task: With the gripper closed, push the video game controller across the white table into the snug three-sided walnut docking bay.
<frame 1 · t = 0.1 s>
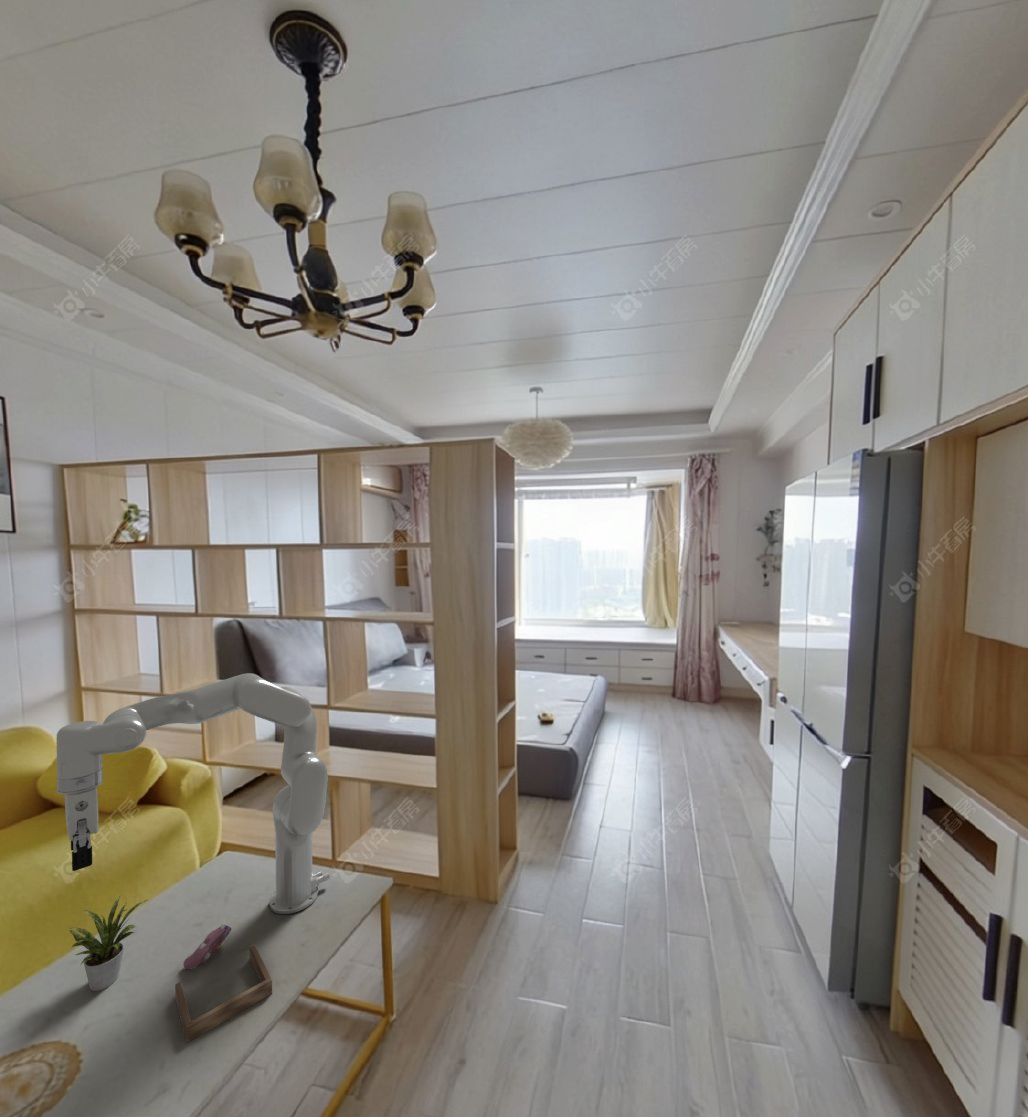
hand: (81, 857, 107), 31 cm above the table, fingers open, 9 cm apart
dock bay: (223, 993, 108), on the table
video game controller: (208, 956, 119), on the table
house plant: (110, 976, 113), on the table
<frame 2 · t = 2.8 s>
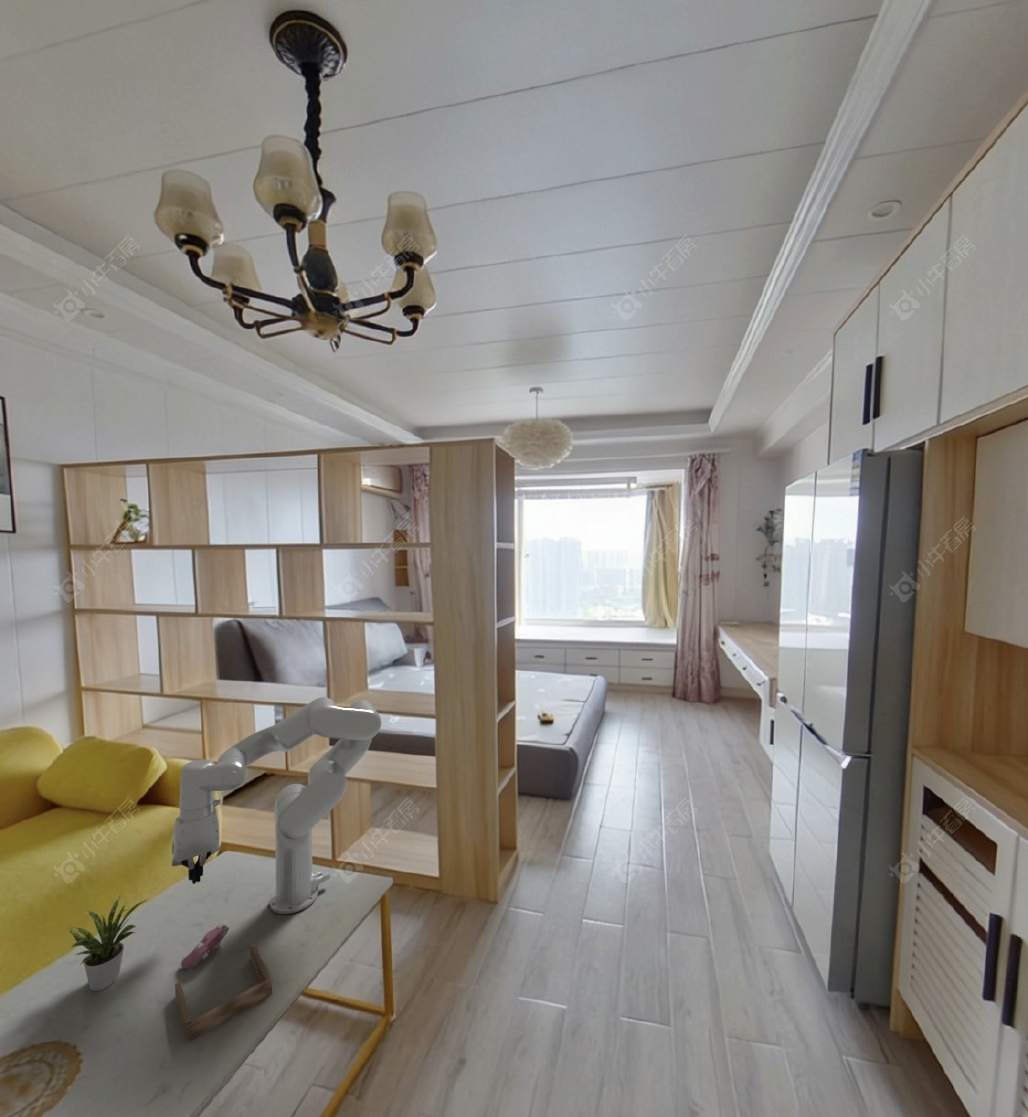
hand: (195, 880, 127), 13 cm above the table, fingers closed
nothing on the table moved.
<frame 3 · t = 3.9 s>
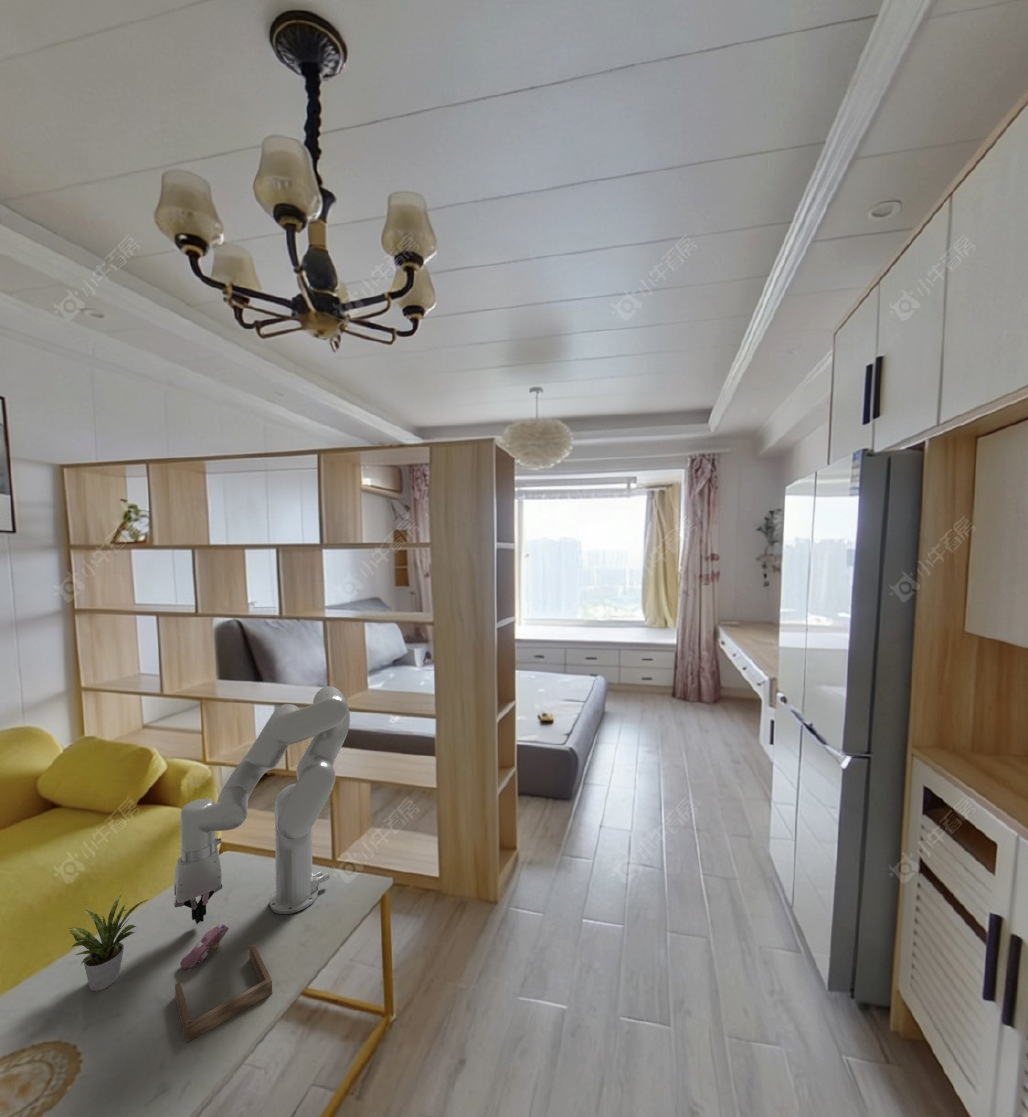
hand: (198, 919, 127), 2 cm above the table, fingers closed
nothing on the table moved.
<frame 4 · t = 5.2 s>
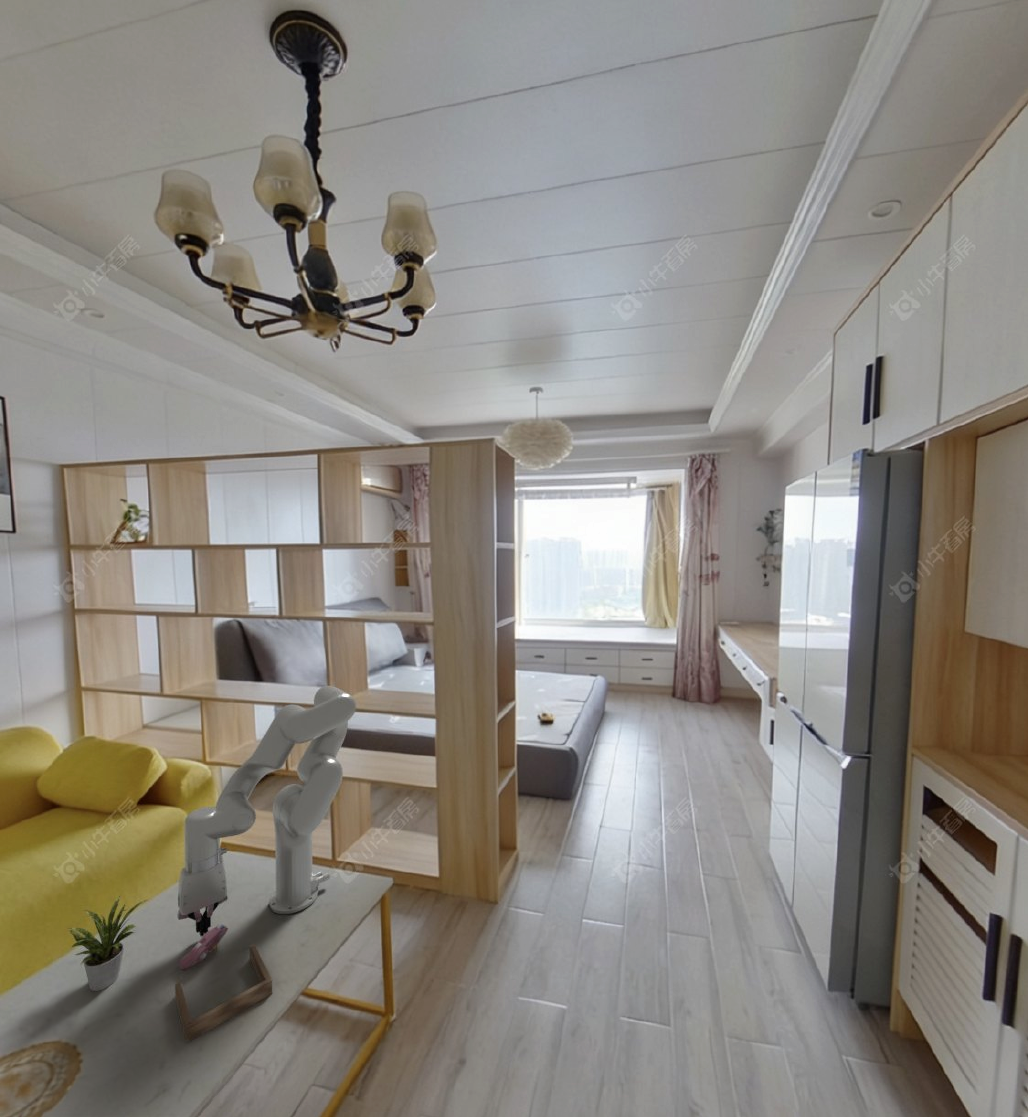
hand: (203, 932, 123), 2 cm above the table, fingers closed
video game controller: (205, 956, 119), on the table, touching gripper
everything else where it was.
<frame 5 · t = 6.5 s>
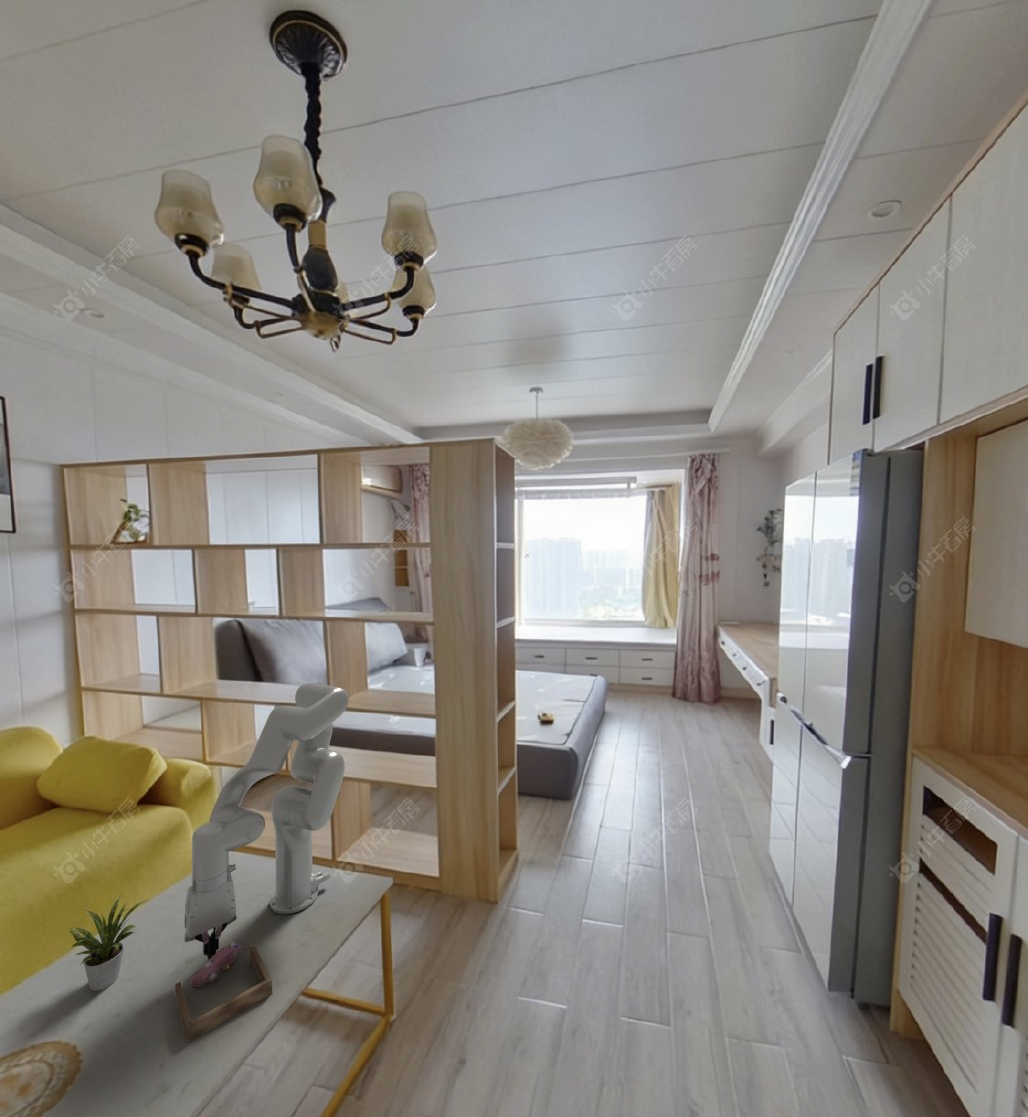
hand: (211, 954, 116), 2 cm above the table, fingers closed
video game controller: (217, 975, 113), on the table, touching gripper
everything else where it was.
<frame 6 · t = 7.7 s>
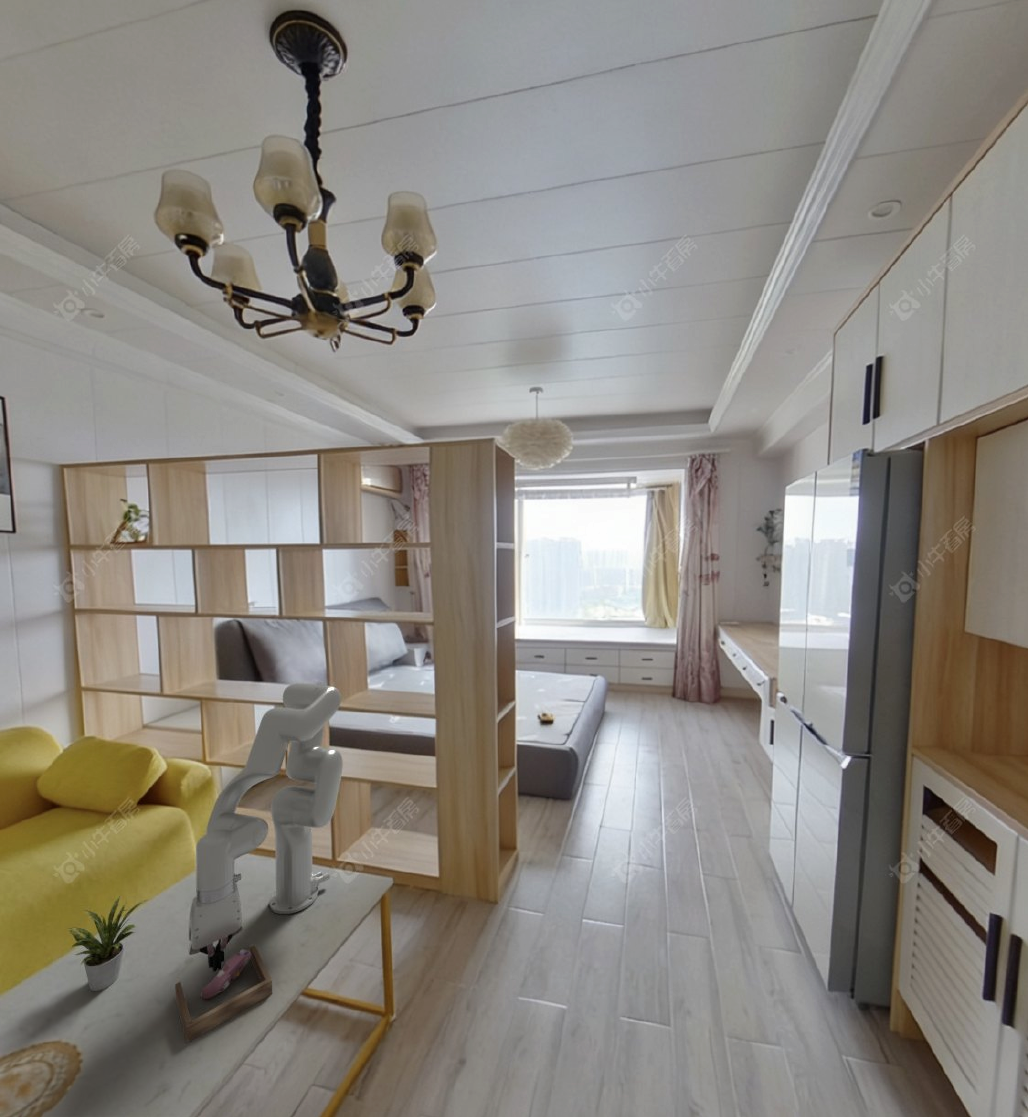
hand: (216, 967, 113), 2 cm above the table, fingers closed
video game controller: (227, 984, 111), on the table, touching gripper
everything else where it was.
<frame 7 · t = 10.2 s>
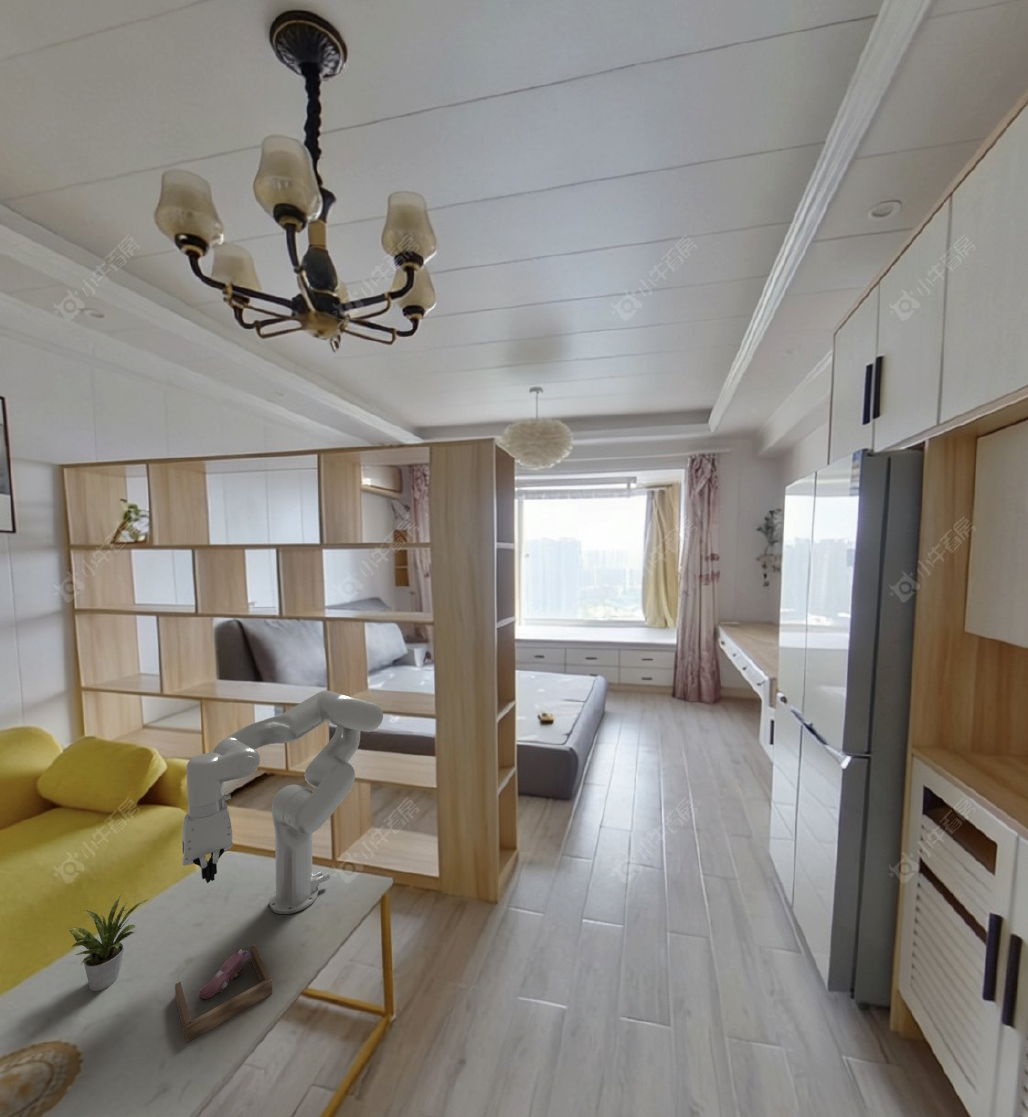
hand: (209, 878, 120), 17 cm above the table, fingers closed
video game controller: (226, 984, 111), on the table
everything else where it was.
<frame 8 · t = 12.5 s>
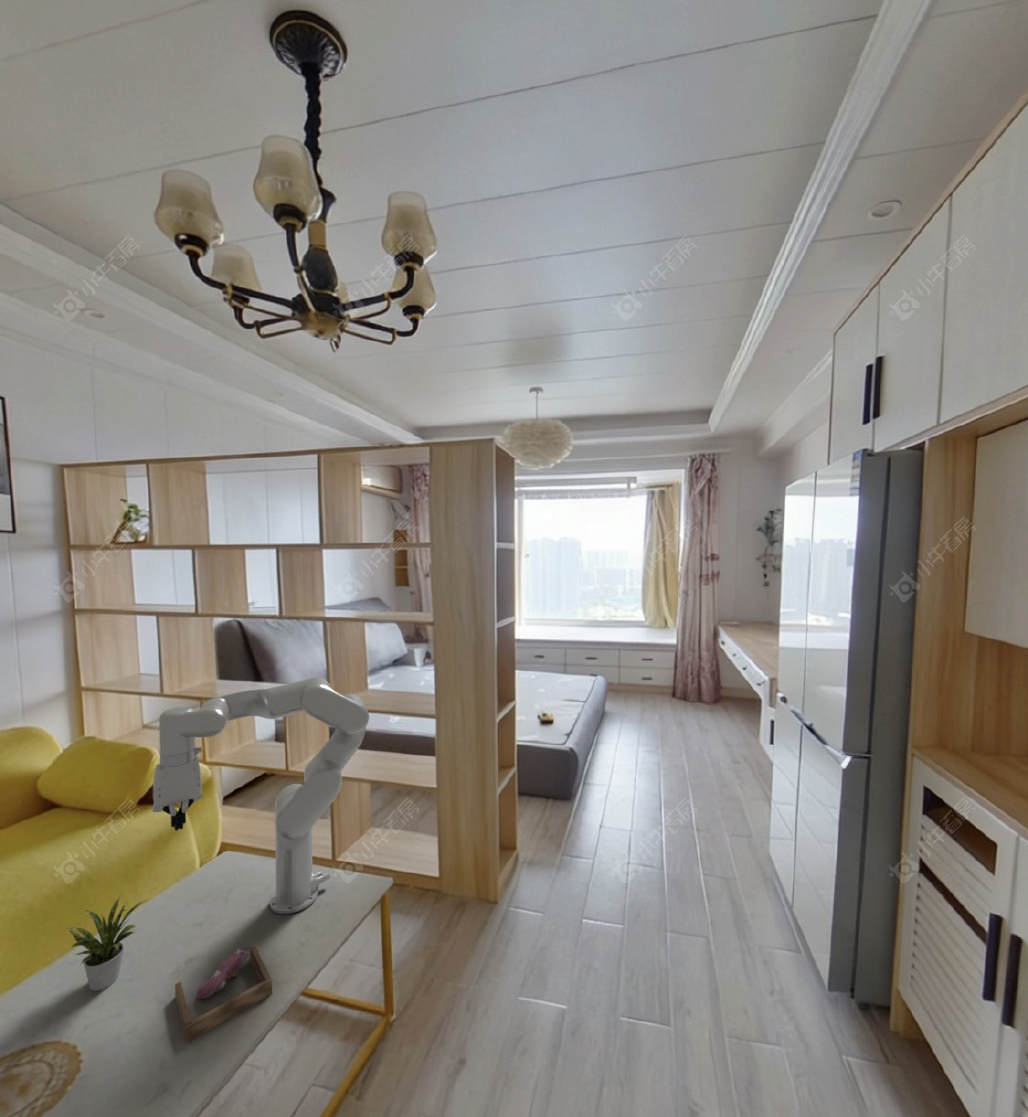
hand: (178, 827, 126), 27 cm above the table, fingers closed
nothing on the table moved.
at the end: video game controller inside the target area on the dock bay (3.7 cm from its centre), point 0.0 cm above the dock bay's base; video game controller moved 11.1 cm from its start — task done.
